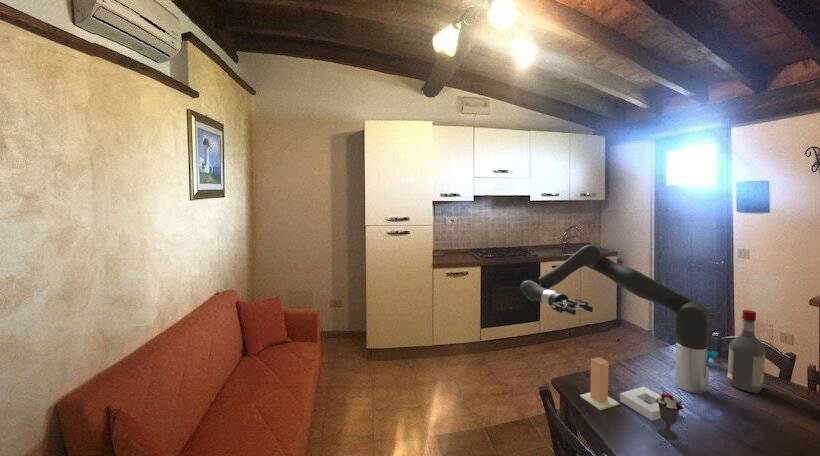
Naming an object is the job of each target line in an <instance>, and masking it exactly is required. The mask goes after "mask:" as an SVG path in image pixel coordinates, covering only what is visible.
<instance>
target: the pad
mask: <svg viewBox="0 0 820 456" xmlns="http://www.w3.org/2000/svg"><path fill="white" fill-rule="evenodd" d="M579 397H580V398H582V399H583V400H585V401H586V402H587V403H589V404H590V405H591V406H593V407H594V408H596V409H597V410H599V411H602V410H606V409H610V408H612V407H616V406H619V405H620V403H619V401H616V400H615V399H613V398H612V397H610V396H609V395H608V401H605V402H602V403H598V402H597V401H595V400H594V399H592V398H591V397H590V391H589V392H586V393H583V394H580V395H579Z"/></svg>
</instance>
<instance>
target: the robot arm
mask: <svg viewBox="0 0 820 456" xmlns="http://www.w3.org/2000/svg"><path fill="white" fill-rule="evenodd" d="M583 267H586V268H589V269H591V270H593V271H595V272H598V273H599V274H602V275H603V276H605V277H607V278H608V279H610V280H611V281H612V282H614V283H615V284H617V285H618V286H620V287H622V288H623V289H625V290H626V291H628V292H630V293H631V294H633V295H635V296H636V297H639V298H641V299H644V300H646V301H649V302H653V303H654V304H657V305H660V306H663V307H664V308H666V309H668V310H670V311H671V312H673V313H675V332H674V333H675V338H676V340H675V341H676V343H675V344H676V346H675V347H676V348H675V365H674V367H675V369H674V385H675V386H676V387H677V388H679V389H681V390H683V391H685V392H689V393H692V394H703V393H705V392H708V390H709V375H710V367H708V365H707V351H708V338H707V335H708V323H709V321H710V319H711V314H710V311H709V309H708V308H707V307H706V306H705V305H703V304H702V303H700V302H697V301H695V300H693V299H691V298H688V297H686V296H685V295H682V294H680V293H677V292H675V291H673V289H672V290H671V289H669V288H668V287H667V286H665V285H663V284H661V283H660V282H658V281H657V280H654V279H653V278H652V277H649V276H647V275H645V274H644V273H642V272H640V271H638V270H636V269H634V268H631V267H628V266H626V265H622V264H620V263H617V262H616V261H613V260H611V259H610V258H609V257H607V256H605V255H604V254H602V253H601V251H600V249H599V248H598V246H595V245H592V244H588V245H584V246H582V247H581V248H580V249H579V250H578V251H576V252H575V253H574V254H573V255H572V256H570V257H569V258H568V259H566V260H564V261H563V262H562V263H560V264H559V265H557V266H555V267H554V268H552V269H550V270H548V271H547V272H545V273H543V274H541V275H540V276H539V277H538V282H539V283H537V282H536V281H533V280H530V279H529V280H524V281H522V283H520V291H521V293H523V294H524V296H525V297H526V299H527V300H529V301H531V302H533V301H537V302H539V303H540V304H542V305H543V304H544V305H545V306H547V307H548V308H551V309H552V310H553V311H556V312H557V313H561V314H562V313H568V314H571V315H573V316H576V315H577V314H576V313H577V311H579V310H583V311H586V312H589V313H592V312H593V306H591V305H589V302H587V301H585V300H582V299H579V298H575V300H573V299H570V298H569V297H568V296H567V295H566V294H564V293H563V292H560V291H559V292H558V291H556V290H554V289H553V290H551V288H553V287H555V286H557V285H558V284H560V283H561V282H563V281H564V280H566V278H568V277H569V276H571V274H572V273H574V272H575V271H577V270H579V269H582V268H583Z"/></svg>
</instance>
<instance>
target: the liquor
mask: <svg viewBox="0 0 820 456" xmlns="http://www.w3.org/2000/svg"><path fill="white" fill-rule="evenodd" d="M741 318H742V327H741V333H740V335H738V336H736V337H735V338H733V339H732V340H731V341H730V342H729V345H728V346H729V347H728V359H727V360H728V361H727V362H728V363H727V376H726V377H727V378H726V382H727V383H728V385H730V386H731V387H732V386H733V387H732V388H734V387H735V388H734V389H737V388H738V389H737V390H740V389H742V390H741V391H743V390H745V391H744V392H746V391H748V392H747V393H749V392H755V393H754V394H759V393H760V392H761V391H762V389H763V387H764V378H765V364H766V363H765V362H766V347H765V345H764V344H763V343H762V342H761V341H760V340H759V339H758V338H757V337H756V334H755V321H756V320H757V312H756V311H754V310H751V309H750V310H749V309H742V317H741Z"/></svg>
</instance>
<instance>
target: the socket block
mask: <svg viewBox="0 0 820 456" xmlns="http://www.w3.org/2000/svg"><path fill="white" fill-rule="evenodd" d="M660 396H661V394H658V393H657V392H655V391H653V390H651V389H649V388H647V387H646V386H641V387H638V388H633V389H631V390H627V391H623V392H620V393H619V402H621V403H622V404H623V405H626V406H627V407H629V408H630V409H632V410H634V411H636V412H637V413H638V414H640V415H642V416H643V417H645V418H646V419H648V420H650V421H651V422H653V421H656V420H658V419H661V417H660V410H659V404H658V403H657V402H656V399H657V398H659V397H660Z"/></svg>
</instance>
